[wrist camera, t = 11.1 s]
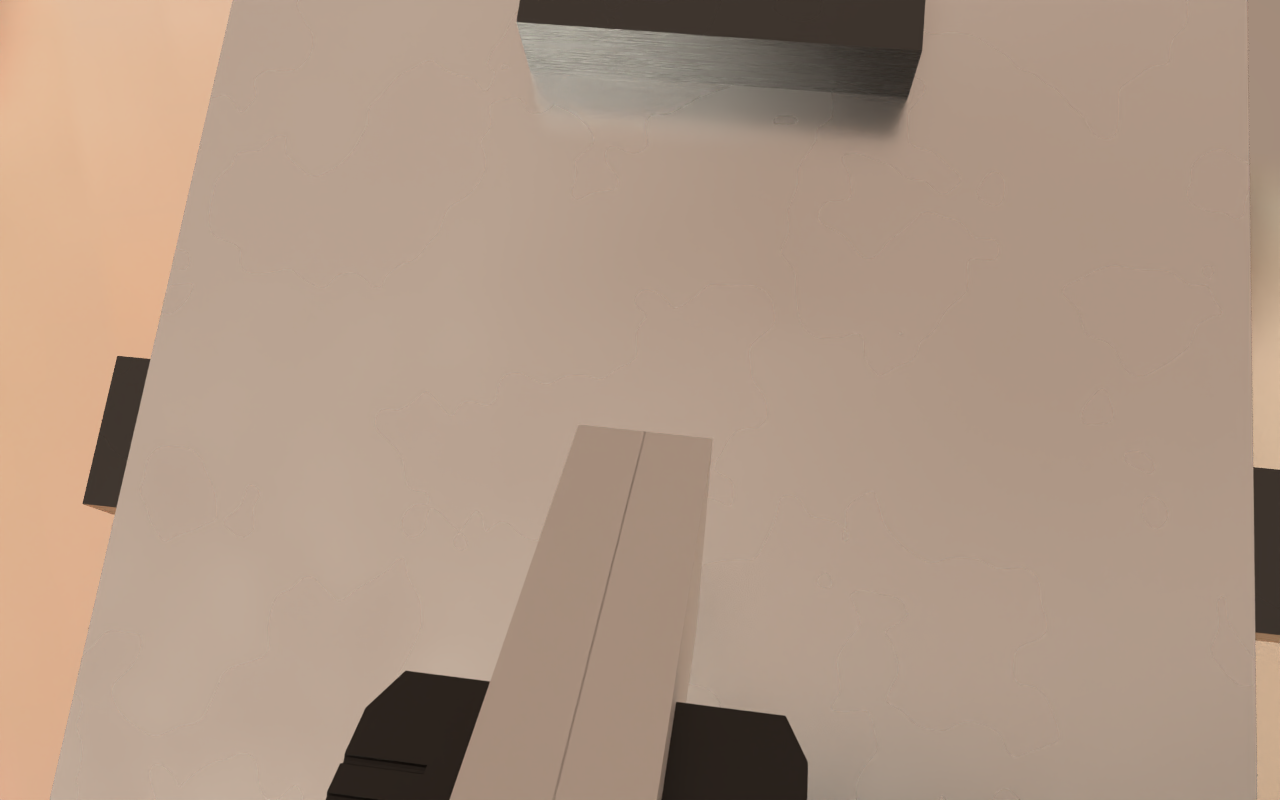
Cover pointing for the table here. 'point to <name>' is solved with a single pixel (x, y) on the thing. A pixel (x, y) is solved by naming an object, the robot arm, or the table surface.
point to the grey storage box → (1273, 489)
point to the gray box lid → (708, 382)
